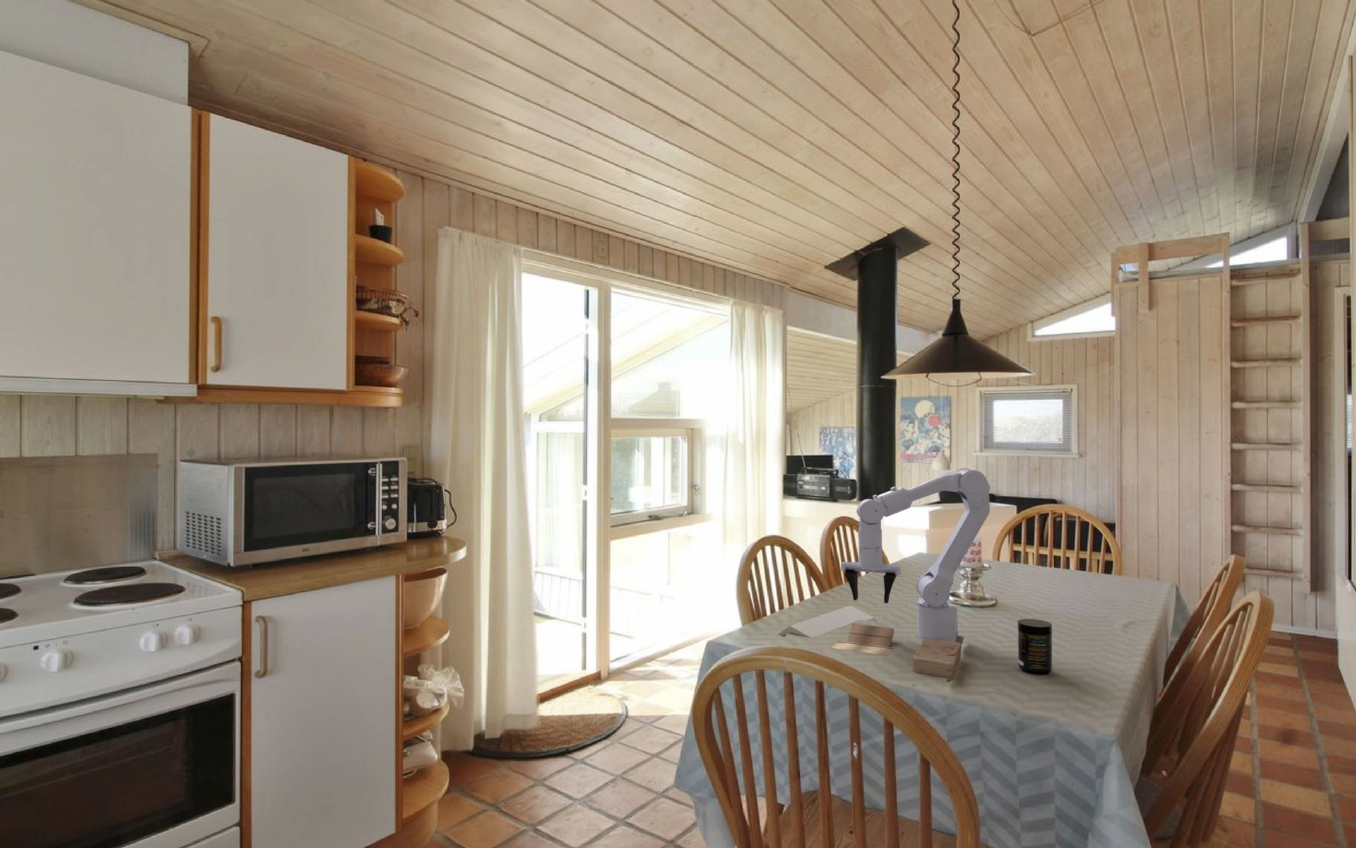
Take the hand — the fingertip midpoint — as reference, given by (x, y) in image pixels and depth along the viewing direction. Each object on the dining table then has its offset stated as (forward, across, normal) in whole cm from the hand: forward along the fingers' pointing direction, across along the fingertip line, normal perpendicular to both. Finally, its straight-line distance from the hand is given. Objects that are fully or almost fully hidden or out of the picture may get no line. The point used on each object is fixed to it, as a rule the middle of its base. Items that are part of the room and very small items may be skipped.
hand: (870, 601), depth 182 cm
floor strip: (+9, -1, +14) cm, 16 cm away
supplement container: (+10, -37, +9) cm, 39 cm away
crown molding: (+10, +12, -5) cm, 17 cm away
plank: (+8, -1, +7) cm, 10 cm away
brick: (+10, -18, +17) cm, 27 cm away
